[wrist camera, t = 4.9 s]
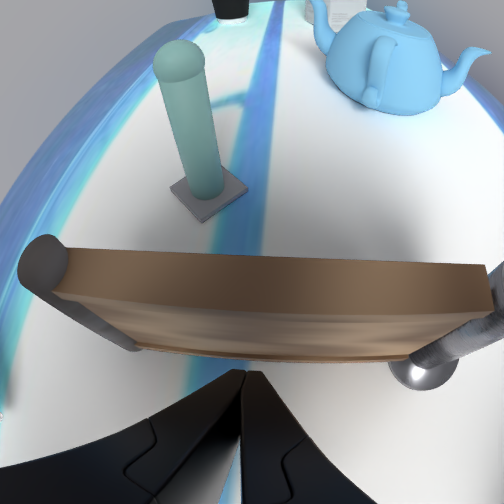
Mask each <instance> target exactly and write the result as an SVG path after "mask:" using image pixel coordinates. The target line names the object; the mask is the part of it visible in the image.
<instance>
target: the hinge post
mask: <svg viewBox="0 0 504 504" xmlns="http://www.w3.org/2000/svg"><path fill="white" fill-rule="evenodd" d="M487 276H488V280H489V285H490V289H491V294H492V299H493V305H494V310H495V311H493V312H492V313H490V314H489V315H487V316H486V317H484V318H479V319H471V320H469V321H468V322H466V323H464V324H463V325H461V326H459V327H458V328H456V329H454V330H452V331H451V332H449V333H447V334H446V335H444V336H442V337H440V338H438V339H437V340H435V341H433V342H431V343H429V344H427V345H426V346H424V347H422V348H420V349H418V350H416V351H414V352H412V353H410V354H408V356H409V358H408V359H406V360H404V361H389V362H388V364H389V367H390V369H391V371H392V373H393V375H394V376H395V377H396V379H397V380H398V381H399V382H400V383H401V384H403V385H404V386H406V387H408V388H410V389H413V390H417V391H426V390H431V389H434V388H437V387H439V386H441V385H443V384H444V383H445V382H446V381H447V380H448V379H449V378H450V377H451V376H452V374H453V373H454V371H455V369H456V367H457V364H458V361H459V358H460V357H463V356H465V355H468V354H470V353H472V352H474V351H477V350H479V349H481V348H483V347H486V346H488V345H490V344H492V343H494V342H496V341H498V340H500V339H502V338H504V261H503V262H502V263H501V264H500V265H499V266H498V267H496V268H495V269H494V270H493V271H492V272H491V273H490V274H488V275H487Z"/></svg>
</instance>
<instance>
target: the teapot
mask: <svg viewBox="0 0 504 504" xmlns="http://www.w3.org/2000/svg"><path fill="white" fill-rule="evenodd" d="M309 1H310V3H311V4H312V7H313V10H314V38H315V41H316V44H317V46H318V47H319V49H320V50H321V51H322V52H323V53H324V54H325V55H326V56H327V57H326V69H327V72H328V74H329V75H330V77H331V78H332V80H333V81H334V83H335V84H336V85H337V86H338V87H339V88H340V90H341V91H342V92H343V93H345V94H346V95H347V96H349V97H350V98H352V99H353V100H355V101H357V102H359V103H361V104H363V105H365V106H366V107H368V108H372V109H375V110H378V111H382V112H385V113H390V114H395V115H415V114H419V113H422V112H425V111H427V110H429V109H432V108H433V107H435V106H436V105H437V104H438V102H439V101H440V98H441V97H443V96H449V95H451V94H453V93H455V92H456V91H458V90H459V89H460V87H461V86H462V84H463V83H464V80H465V78H466V76H467V73H468V71H469V68H470V66H471V64H472V63H473V61H474V60H475V59H476V58H478V57H479V56H481V55H486V54H491V52H490V51H487V50H484V49H481V48H476V47H468V48H466V49H465V50H464V51H463V52H462V53H461V55H460V57H459V59H458V62H457V63H456V65H455V66H454V67H453V68H452V69H450V70H446V71H443V70H442V65H441V60H440V57H439V54H438V50H437V48H436V44H435V42H434V40H433V37H432V36H431V34H430V33H429V32H428V31H427V30H426V29H425V28H423V27H421V26H420V25H418V24H416V23H414V22H412V21H409V20H408V18H409V16H410V14H409V13H408V12H407V8H408V6H407V3H406V2H404V1H401V0H400V1H398V3H397V7H393V6H385V7H384V10H385V13H383V12H378V11H361V12H359V13H357V14H356V15H355V16H353V17H352V18H351V19H350V20H349V21H348V22H347V23H346V24H345V25H344V26H343V27H342V28H341V30H340V31H339V32H338V33H337V34H336V33H335V32H334V31H333V30H332V29H331V27H330V26H329V23H328V14H327V7H326V4H325V2H324V1H323V0H309Z"/></svg>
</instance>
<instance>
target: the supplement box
mask: <svg viewBox="0 0 504 504" xmlns="http://www.w3.org/2000/svg"><path fill="white" fill-rule="evenodd" d="M323 1H324V2H325V4H326V7H327V14H328V23H329V26H330V27H331V29H332V30H333V31H334V32H339V31H340V30H341V28H342V27H343V26H344V25H345V24H346V23H347V22H348V21H349V20H350V19H351V18H352V17H353V16H355V15H356V14H357V13H359V12H361V11H366V3H367V0H323ZM305 21H307V22H309V23H311V24H313V25H314V10H313V7H312V4H311V3H310V1H309V0H306V14H305Z"/></svg>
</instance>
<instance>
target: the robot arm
mask: <svg viewBox="0 0 504 504" xmlns="http://www.w3.org/2000/svg"><path fill="white" fill-rule="evenodd" d="M239 440H240V465H241V504H377V503H376V502H375V501H374V500H373V499H371V498H370V497H369V496H368V495H367V494H365V493H364V492H363V491H362V490H361V489H360V488H358V487H357V486H356V485H355V484H354V483H353V482H352V481H350V480H349V479H348V478H347V477H346V476H345V475H344V474H343V473H342V472H341V471H340V470H339V469H338V468H336V467H335V466H334V465H333V464H332V463H331V462H330V461H329V460H328V458H327V457H326V456H325V455H324V454H323V453H322V451H321V450H320V449H319V448H318V447H317V445H316V444H315V443H314V441H313V440H312V439H311V438H310V437H309V436H308V434H307V433H306V432H305V430H304V429H303V428H302V426H301V425H300V424H299V422H298V421H297V420H296V418H295V417H294V416H293V414H292V413H291V411H290V410H289V409H288V407H287V406H286V405H285V403H284V402H283V400H282V399H281V398H280V396H279V395H278V393H277V392H276V391H275V389H274V388H273V386H272V385H271V384H270V382H269V381H268V379H267V378H266V377H265V375H264V374H263V372H261V371H247V372H246V371H245V370H238V369H232V370H230V371H228V372H226V373H225V374H223V375H221V376H220V377H218V378H217V379H215V380H213V381H212V382H210V383H208V384H207V385H205V386H203V387H202V388H200V389H198V390H197V391H195V392H193V393H192V394H190V395H188V396H186V397H185V398H183V399H181V400H179V401H178V402H176V403H174V404H172V405H171V406H169V407H167V408H165V409H163V410H162V411H160V412H158V413H156V414H154V415H152V416H151V417H149V419H148V418H146V419H144V420H142V421H140V422H138V423H136V424H134V425H132V426H130V427H128V428H126V429H124V430H121V431H119V432H117V433H115V434H112V435H110V436H107V437H104V438H102V439H99V440H97V441H94V442H91V443H88V444H85V445H82V446H79V447H76V448H73V449H70V450H66V451H63V452H60V453H57V454H53V455H50V456H46V457H43V458H39V459H35V460H31V461H28V462H24V463H20V464H15V465H11V466H7V467H2V468H0V504H218V502H219V499H220V497H221V494H222V491H223V488H224V485H225V482H226V480H227V477H228V474H229V471H230V468H231V465H232V462H233V459H234V456H235V453H236V450H237V447H238V444H239Z"/></svg>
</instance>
